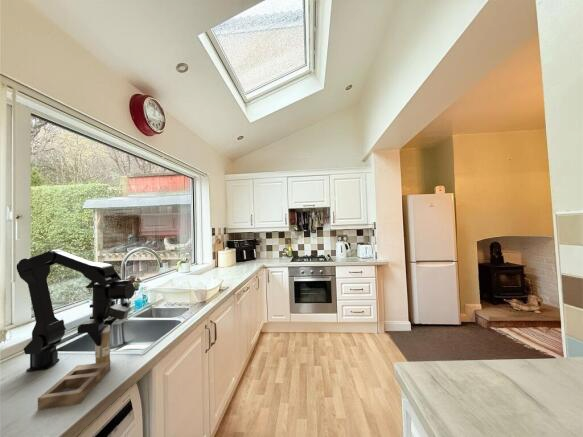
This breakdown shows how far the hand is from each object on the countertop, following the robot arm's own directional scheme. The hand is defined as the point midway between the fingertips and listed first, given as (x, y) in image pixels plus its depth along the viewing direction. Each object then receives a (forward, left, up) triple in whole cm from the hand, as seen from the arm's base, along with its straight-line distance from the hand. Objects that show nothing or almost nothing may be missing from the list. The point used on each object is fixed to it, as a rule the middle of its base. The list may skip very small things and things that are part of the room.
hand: (102, 342), depth 92 cm
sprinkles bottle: (0, 0, -8) cm, 8 cm away
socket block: (0, -14, -8) cm, 16 cm away
